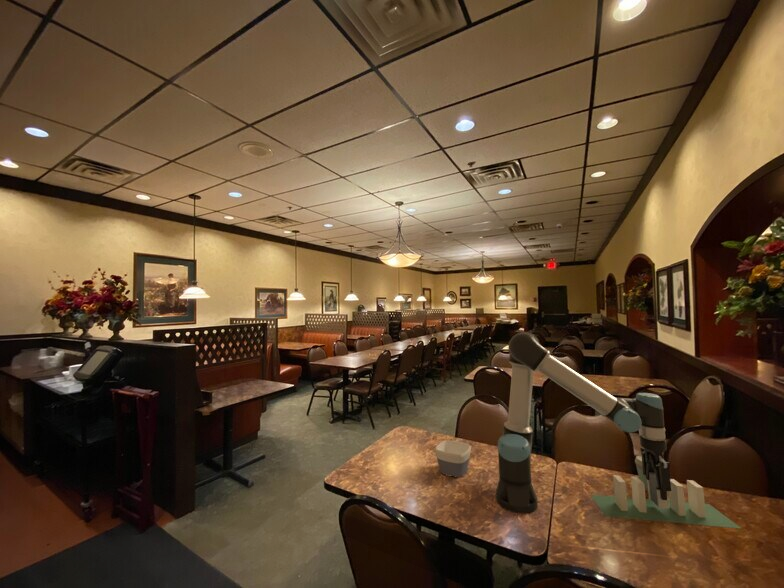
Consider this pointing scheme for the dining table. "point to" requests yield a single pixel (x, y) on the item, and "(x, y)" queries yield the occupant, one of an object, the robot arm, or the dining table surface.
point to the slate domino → (653, 487)
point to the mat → (662, 513)
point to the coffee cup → (641, 471)
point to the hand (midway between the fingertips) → (658, 503)
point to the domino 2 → (638, 494)
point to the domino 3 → (677, 498)
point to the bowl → (453, 457)
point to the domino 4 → (696, 498)
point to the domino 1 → (620, 492)
